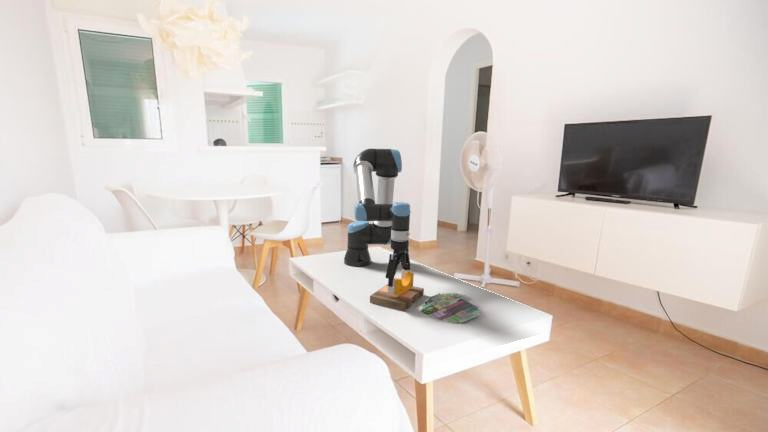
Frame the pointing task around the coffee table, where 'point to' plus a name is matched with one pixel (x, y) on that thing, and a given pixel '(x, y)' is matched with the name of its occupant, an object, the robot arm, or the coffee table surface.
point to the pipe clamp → (404, 283)
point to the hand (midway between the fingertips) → (397, 288)
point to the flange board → (397, 298)
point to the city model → (451, 307)
